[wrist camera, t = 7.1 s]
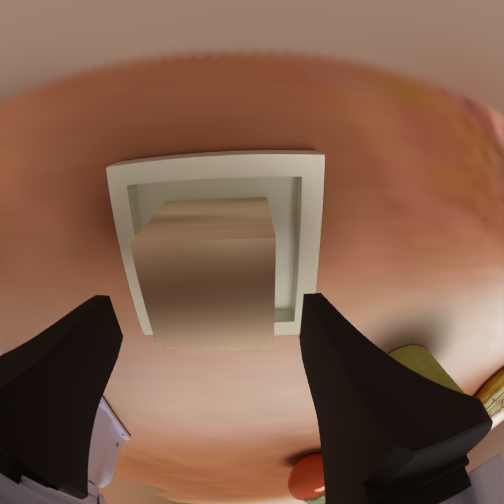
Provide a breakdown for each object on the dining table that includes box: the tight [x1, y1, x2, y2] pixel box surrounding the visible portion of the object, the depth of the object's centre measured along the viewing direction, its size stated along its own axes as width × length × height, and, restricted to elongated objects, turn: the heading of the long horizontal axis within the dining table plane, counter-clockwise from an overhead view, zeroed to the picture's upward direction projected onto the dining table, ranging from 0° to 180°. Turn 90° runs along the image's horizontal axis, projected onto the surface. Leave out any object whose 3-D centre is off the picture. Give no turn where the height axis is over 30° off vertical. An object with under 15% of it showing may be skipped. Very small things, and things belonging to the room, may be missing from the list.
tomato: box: [288, 453, 325, 504], centre depth 25 cm, size 7×7×8 cm
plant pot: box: [388, 345, 487, 410], centre depth 17 cm, size 9×9×9 cm
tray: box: [106, 150, 325, 336], centre depth 15 cm, size 10×10×2 cm
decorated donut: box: [475, 368, 504, 417], centre depth 24 cm, size 10×11×4 cm
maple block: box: [130, 197, 276, 350], centre depth 13 cm, size 5×5×5 cm
